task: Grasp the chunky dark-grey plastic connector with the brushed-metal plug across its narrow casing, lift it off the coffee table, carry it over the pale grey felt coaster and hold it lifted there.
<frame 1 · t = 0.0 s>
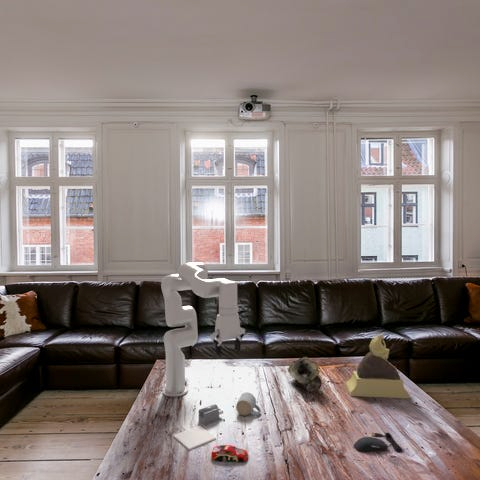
hand: (228, 352, 156), 31 cm above the table, fingers open, 9 cm apart
ceramic mug: (248, 413, 170), on the table
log: (305, 386, 199), on the table
decorative clock: (376, 392, 192), on the table
race car: (229, 458, 136), on the table
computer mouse: (374, 445, 145), on the table
felt coaster: (194, 437, 149), on the table
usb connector: (208, 420, 162), on the table
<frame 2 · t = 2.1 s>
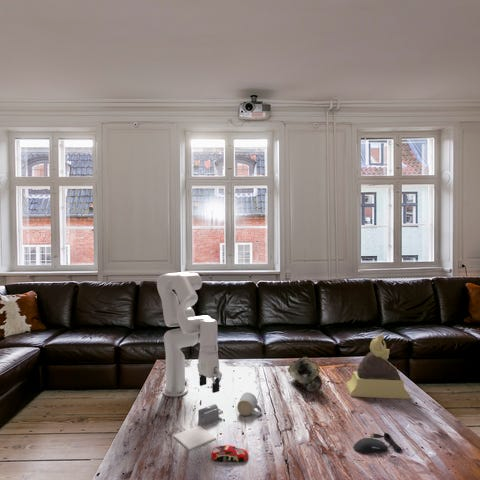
hand: (209, 388, 162), 14 cm above the table, fingers open, 9 cm apart
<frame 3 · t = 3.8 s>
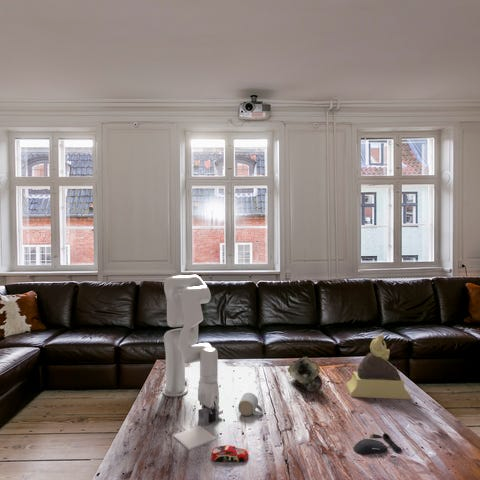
hand: (208, 419, 162), 1 cm above the table, fingers closed on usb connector, 4 cm apart
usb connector: (208, 420, 162), on the table, touching gripper
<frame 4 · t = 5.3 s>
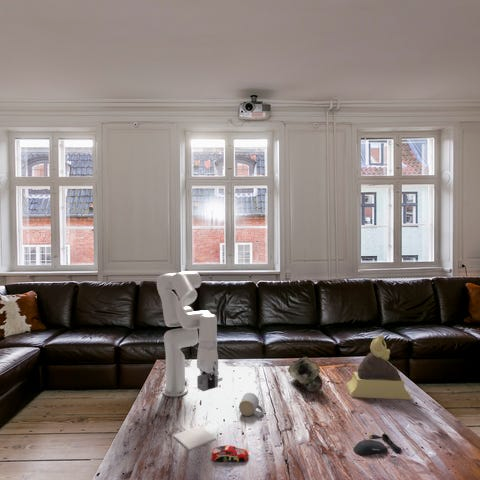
hand: (208, 385, 161), 15 cm above the table, fingers closed on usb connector, 4 cm apart
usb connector: (207, 387, 161), point 15 cm above the table, touching gripper
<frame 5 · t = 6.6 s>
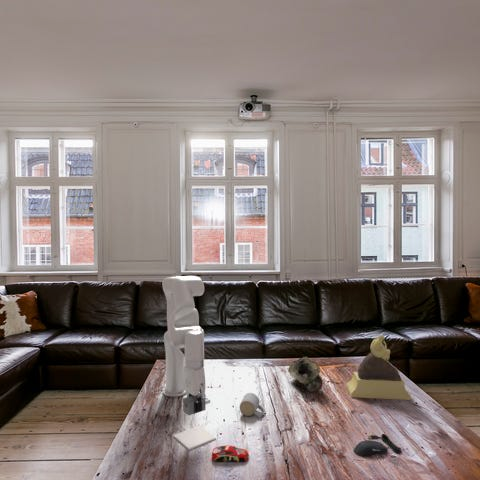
hand: (194, 409, 148), 12 cm above the table, fingers closed on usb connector, 4 cm apart
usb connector: (194, 410, 148), point 11 cm above the table, touching gripper
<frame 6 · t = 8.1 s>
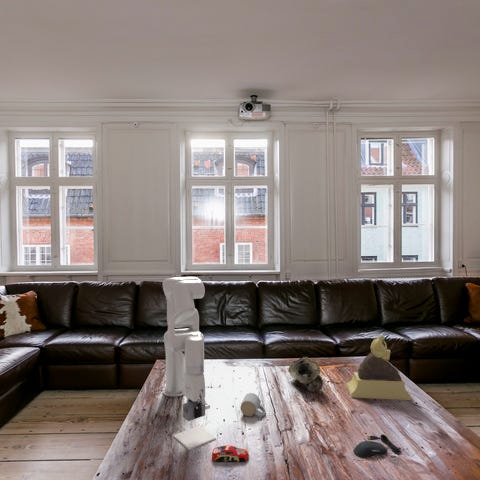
hand: (194, 414, 148), 9 cm above the table, fingers closed on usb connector, 4 cm apart
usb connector: (194, 416, 148), point 9 cm above the table, touching gripper
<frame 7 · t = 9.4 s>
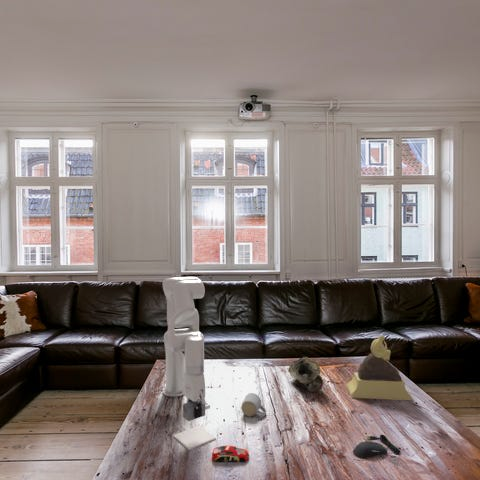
hand: (194, 414, 148), 9 cm above the table, fingers closed on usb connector, 4 cm apart
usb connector: (194, 416, 148), point 9 cm above the table, touching gripper
at the end: the gripper is holding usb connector; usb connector point 8.6 cm above the table; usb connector inside the target area on the felt coaster (0.2 cm from its centre), point 8.6 cm above the felt coaster's base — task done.
